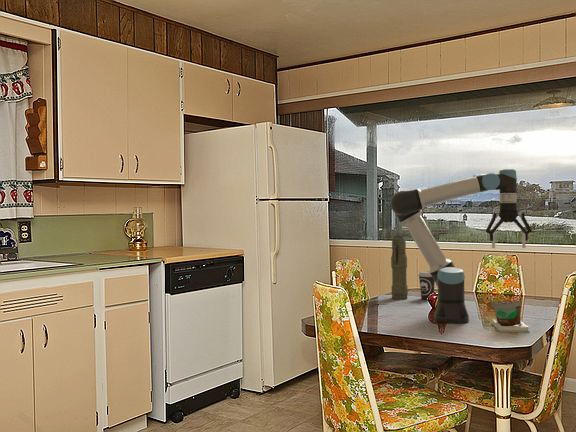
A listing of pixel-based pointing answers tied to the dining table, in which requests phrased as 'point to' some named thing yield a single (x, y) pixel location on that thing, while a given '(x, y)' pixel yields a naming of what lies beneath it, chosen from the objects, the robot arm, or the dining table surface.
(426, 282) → the coffee cup
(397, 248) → the olive brown statue
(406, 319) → the dining table surface
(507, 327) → the cream rectangular tray
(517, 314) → the food container
